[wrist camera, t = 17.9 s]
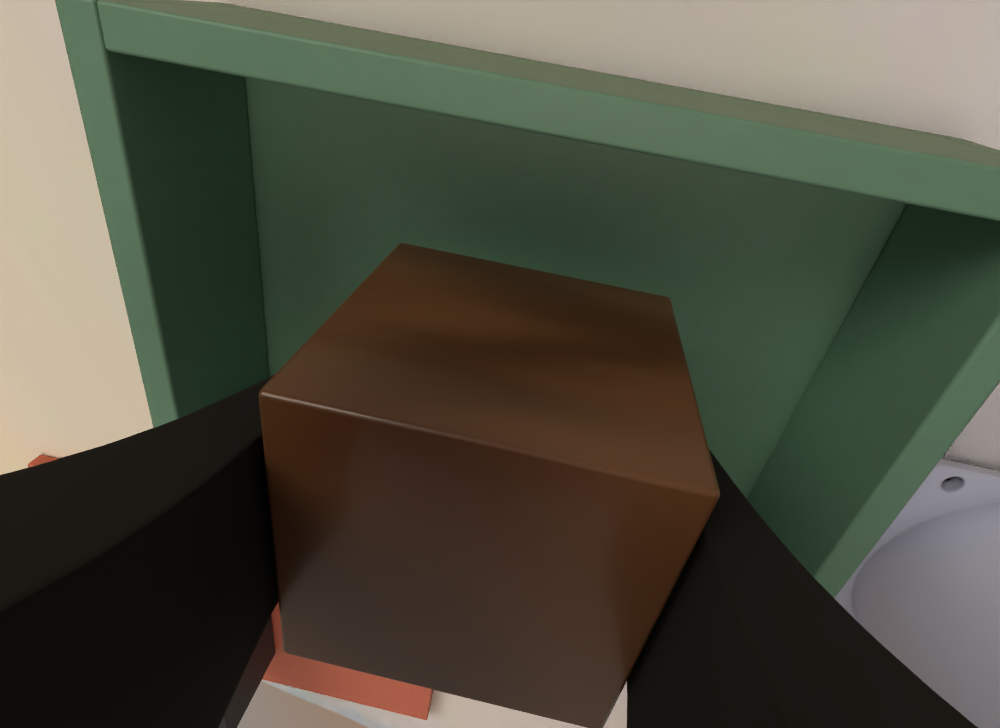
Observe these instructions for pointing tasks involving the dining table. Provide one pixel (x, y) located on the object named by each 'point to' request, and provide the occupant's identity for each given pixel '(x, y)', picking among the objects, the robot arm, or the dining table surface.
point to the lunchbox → (552, 233)
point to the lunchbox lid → (314, 675)
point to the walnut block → (485, 482)
